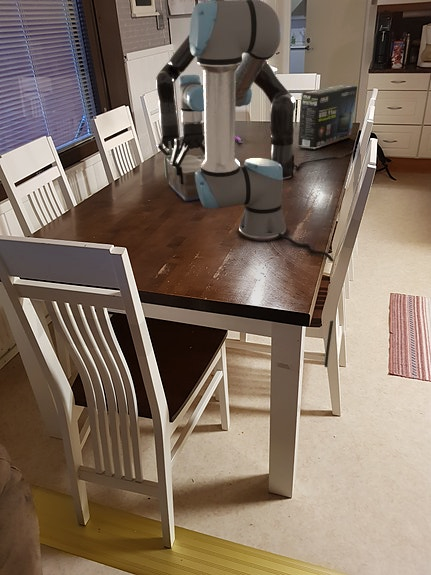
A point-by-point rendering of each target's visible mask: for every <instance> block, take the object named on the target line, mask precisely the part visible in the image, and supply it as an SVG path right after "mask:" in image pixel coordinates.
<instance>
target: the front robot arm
mask: <svg viewBox="0 0 431 575" xmlns="http://www.w3.org/2000/svg"><path fill="white" fill-rule="evenodd" d="M282 32H283V30H282V24H281V21H280V18H279V16H278V14H277V12H276V10H274V8H273V7H272V6H270V5H269V4H268V3H266V2H264V1H262V0H220V1H216V0H212V1H211V0H206V1H201V2H198V3H196V4H195V6H194V7H193V11H192V13H191V17H190V22H189V33H188V35H189V42H190V51H191V54H192V55H193V56H195V58H196V63H197V65H198V66H199V67H200V68H201V69H202V75H203V76H202V77H203V78H202V79H203V81H201V75H198V74H184V75H180V76H179V77H178V89H179V90H178V92H179V101H180V116H181V117H180V118H181V122H182V123H181V133H182V137H180V139H177V138H175V139H174V142H175V145H174V149H173V153H172V157H171V161H170V164H171V165H172V166H174V167H175V169H176V175H177V176H178V177H179V183H180V184H183V177H182V167H181V166H180V165H181V163H182V161H183V159H184V157H185V155H186V154H187V153H188V152H189V150H193V149H200V150H201V152H202V153H203V155H205V159H204V160H203V161H202V162H201V171H200V170H198V171H196V172H195V182H196V187H197V191H198V195H199V198H200V199H199V201H200V203H201V205H202V207H203V208H204V209H206V210H215V209H217V210H219V209H224V208H233V207H239V206H244V211H243V213H242V216H241V220H240V222H239V226H238V232H239V235H240V236H241V237H242V238H244V239H247V240H250V241H254V242H271V241H277V240H279V239H281V238H283V239H284V240H285V241H287V242H289V243H291V244H292V245H293V246H296V247H300V248H303V247H304V248H308V250H309V252H310V253H313V254H317V255H323V256H325V257H327V259H328V261H330V262H334V258H333V257H332V256H331V254H329V253H328V252H326V251H323V250H317V249H314V248H313V247H312V245H311V244H310V243H300V242H297V241H295V240H293V238H291V237H289V236H287V235H286V234H287V223H286V221H285V216H284V214H283V210H282V200H283V183H284V179H283V170H282V166H281V165H280V164H279V163H277V162H275V161H272V160H270V159H268V158H263V157H252V158H251V157H250V158H247V159H245V160H244V162H243V165H241V163H240V161H239V160H238V159H237V158H236V139H235V135H236V108H239V107H244V106H248V105H250V104H251V102H252V97H253V90H252V86H253V84H254V80H255V79H256V77H257V75H258V74H259V72H260V70H261V68H262V67H263V65H264V63H265V62H266V61H268V60H269V59H271V58H272V57H273V56H274V55H275V54H276V52H277V51H278V48H279V46H280V44H281V41H282ZM202 82H203V84H202ZM203 112H204V113H203ZM203 114H204V115H203ZM203 116H204V122H202V121H203ZM203 123H204V126H203ZM181 142H183V143H184V146H183V149H182V151H181V153H180V155H179V157H178V159H177V156H178V152H179V148H180V145H181ZM203 142H204V143H203ZM176 159H177V161H176ZM333 325H334V320H330V321H329V326H328V332H327V333H328V334H327V340H326V341H327V342H326V348H325V356H324V368H328V364H329V355H330V347H331V341H332V332H333Z"/></svg>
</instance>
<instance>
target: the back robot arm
mask: <svg viewBox="0 0 431 575" xmlns="http://www.w3.org/2000/svg"><path fill="white" fill-rule="evenodd" d="M210 1H212V0H210ZM216 1H220V0H216ZM195 58H196V57H195V56H193V55H192V54H191V51H190V42H189V34H188V35H187V36H186V38H185V39H184V40H183V42H182V43H181V44H180V45H179V46H178V48H177V49H176V50H175V51H174V52H173V54H172V56H171V57H170V59H169V60H168V62H167V63H166V64H165V65H164V66H163V67H162V69H161V70H160V71H158V73H157V75H156V78H155V85H156V91H157V97H158V110H159V126H160V134H161V137H160V142H159V143H157V144H156V147H157V148H158V149H159V150H160V151H161V153H163V155H164V156H169V155H172V153H173V149H174V145H175V142H174V139H175V138H177V139H180V138H181V136H180V129H179V128H180V127H179V118H178V112H177V102H176V98H175V82H176V81H177V80H178V79H179V78H180V76H181V74H183V73H184V72H185V71H186V70H187V68H188V67H189V66H190V65H191V63H192V62H193V61H194V60H195ZM253 84H255V85H256V86H257V87H258V88H259V89H260V90H261V91H263V93H264V94H265V96H266V98H267V99H268V100H269V102H270V114H269V115H270V116H269V122H270V123H269V126H270V128H269V129H270V151H269V152H270V154H269V155H270V156H269V158H270V159H269V160H272V161H275V162H277V163H279V164H280V165H281V166H282V170H283V180H288V179H291V178H293V177H294V170H296V171H299V167H300V166H301V165H304V164H308V163H313V162H318V161H325V160H326V161H327V160H333V159H337V158H336V157H337V156H331V157H323V158H316V159H311V160H306V161H303V162H302V161H301V162H300V163H298V164H296V163H295V154H294V153H293V149H294V132H295V131H294V117H295V116H294V114H295V109H296V100H295V98H294V96H293V95H292V94H291V93H290V92H289V90H287V88H286V87H285V86H284V85H283V83H281V81H280V80H279V79H278V76H276V73H275V72H274V70H273V68H272V66H270V64H269V62H268V60H266V62H265V63H264V65H263V67H262V68H261V70H260V72H259V74H258V75H257V77H256V79H255V80H254V82H253ZM183 146H184V143H183V142H181V145H180V148H179V152H178V154H180V153H181V151H182V149H183ZM164 147H165V148H166V149H164ZM354 152H355V150H354V149H353V150H352V151H350V152H348V153H345V154H346V156H345V157H347V156H349V155H352V153H354ZM296 168H297V169H296Z"/></svg>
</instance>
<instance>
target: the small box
mask: <svg viewBox="0 0 431 575" xmlns="http://www.w3.org/2000/svg"><path fill="white" fill-rule="evenodd" d="M196 157H197V156H195V155H193V154H187V156H185V157H184V159H183V161H182V163H181V165H180V166H181V167H182V177H183V184H180V183H179V177H178V176H177V175H176V169H175V167H174V166H172V165H171V164H170V161H171V158H167V165H168V177H169V178H168V185H169V186H170V187H171V188H172V190H173V191H175V192H176V194H178V196H179V197H180V198H181V199H182V200H183V201H184V202H185V203H186V202H191V201H192V202H193V201H197V200H200V198H199V195H198V191H197V187H196V182H195V172H196V171H198V170H200V171H201V161H200V160H199V159H197V158H196ZM177 159H178V157H177ZM177 159H176V161H177Z"/></svg>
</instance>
